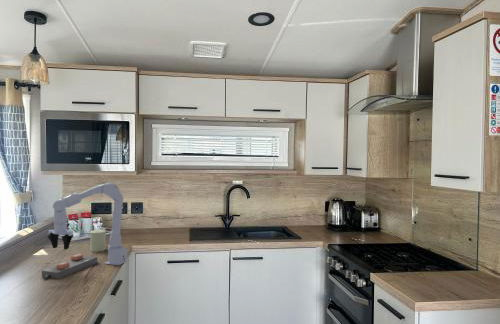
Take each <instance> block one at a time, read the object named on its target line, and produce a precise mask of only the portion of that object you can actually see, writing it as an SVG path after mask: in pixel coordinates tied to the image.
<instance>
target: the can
mask: <svg viewBox="0 0 500 324" xmlns="http://www.w3.org/2000/svg"><path fill="white" fill-rule="evenodd" d="M106 231H107V230H105V229H94V230H91V231H90V232H89V245H90V246H89V251H90V252H94V253H96V252H97V253H98V252H103V251H105V250H106V249H107V242H106V239H107V238H106V235H107V234H106V233H107V232H106Z"/></svg>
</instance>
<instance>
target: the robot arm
mask: <svg viewBox="0 0 500 324" xmlns="http://www.w3.org/2000/svg"><path fill="white" fill-rule="evenodd" d="M96 194H98V195H99V194H101V195H103V194H104V195H106V196H108V197H110V198H111V199H112V200H113V201H114V202H113V212H112V213H113V214H112V222H111V223H112V224H111V225H112V226H111V234H110V235H109V239H108V246H107V255H108V256H107V257H108V258H107V260H108V261H106V262H104V264H105V265H111V266H112V265H114V266H120V265H123V264H124V263H127V262H129V260H128V249H127V247H125V246H123V244H122V235H121V227H122V226H121V225H122V216H123V215H122V214H123V203H124V195H123V194H122V192H121V190H120V189H119V188H118V186H117V185H116V184H115V183H113V182H111V181H109V182H106V183H102V184H99V185H96V186H93V187H91V188H89V189H87V190H85V191H82V192H80V193H78V192H71V193H70V194H69V195H68V196H62V197H61V198H60V199H57V200H56V201H54V202H53V204H52V208H53V229H49V230H48V231H47V234H48V235H47V238H48V239H49V241H50V243H51V245H52V248H53V249H56V248H58V245H59V236H60V235H61V240H62V242H63V250H67V249H68V250H69V247H70V244H71V241H72V239H73V238H74V232H73V231H71V230H68V228H67V226H68V225H67V223H68V222H67V208H70V207H73V206H76V205H78V204H81V203H82V200H83V199H86V198H88V197H91V196H93V195H96Z"/></svg>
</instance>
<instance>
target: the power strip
mask: <svg viewBox="0 0 500 324" xmlns="http://www.w3.org/2000/svg"><path fill="white" fill-rule="evenodd" d="M65 262H70V266H68V267H65V268H63V269H58V268H57V264H56V265H53V266H51V267H46V268H44V269H42V270H41V277H42V276H43V278H42V279H43V280H46V279H57V280H58V279H61V278H63V277H65V276H67V275H71V274H72V273H75V272H78V271H80V270H82V269H85V268H88V267H90V266H93V265H94V264H97V263H98V256H91V255H83V258H81V259H78V260H71V259H68V260H67V261H65ZM92 264H93V265H92Z"/></svg>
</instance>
